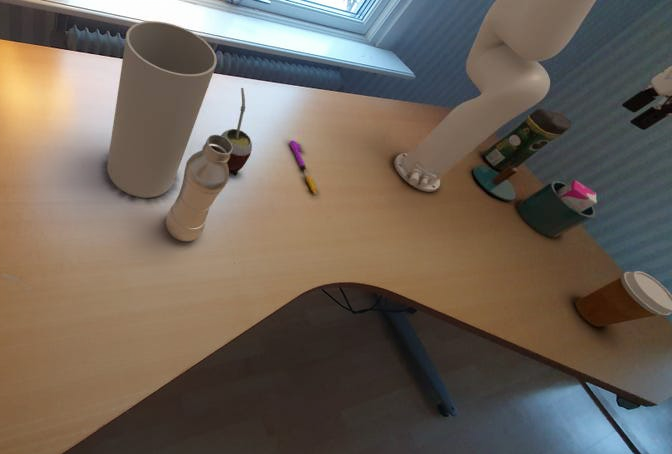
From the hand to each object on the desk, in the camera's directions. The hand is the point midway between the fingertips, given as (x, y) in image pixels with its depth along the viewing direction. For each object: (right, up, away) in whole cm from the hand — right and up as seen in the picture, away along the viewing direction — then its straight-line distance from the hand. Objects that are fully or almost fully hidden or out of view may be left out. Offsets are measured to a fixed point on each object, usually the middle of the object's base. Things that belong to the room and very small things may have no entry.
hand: (631, 117), depth 83 cm
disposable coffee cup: (-10, -44, 0) cm, 45 cm away
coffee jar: (-6, -5, +30) cm, 31 cm away
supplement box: (-5, -22, +17) cm, 29 cm away
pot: (-5, -23, +18) cm, 29 cm away
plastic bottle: (-101, -25, -19) cm, 105 cm away
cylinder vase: (-108, -15, -14) cm, 110 cm away
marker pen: (-73, -11, +1) cm, 74 cm away
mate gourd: (-92, -12, -6) cm, 93 cm away
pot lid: (-14, -12, +21) cm, 28 cm away
